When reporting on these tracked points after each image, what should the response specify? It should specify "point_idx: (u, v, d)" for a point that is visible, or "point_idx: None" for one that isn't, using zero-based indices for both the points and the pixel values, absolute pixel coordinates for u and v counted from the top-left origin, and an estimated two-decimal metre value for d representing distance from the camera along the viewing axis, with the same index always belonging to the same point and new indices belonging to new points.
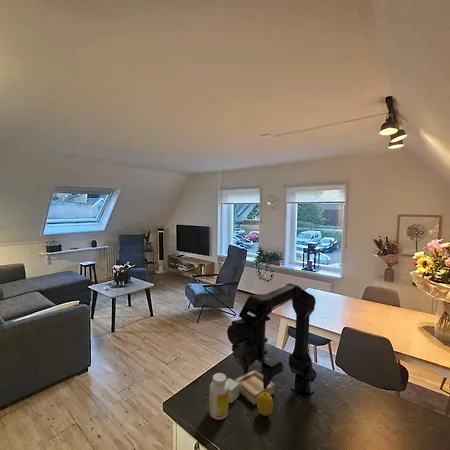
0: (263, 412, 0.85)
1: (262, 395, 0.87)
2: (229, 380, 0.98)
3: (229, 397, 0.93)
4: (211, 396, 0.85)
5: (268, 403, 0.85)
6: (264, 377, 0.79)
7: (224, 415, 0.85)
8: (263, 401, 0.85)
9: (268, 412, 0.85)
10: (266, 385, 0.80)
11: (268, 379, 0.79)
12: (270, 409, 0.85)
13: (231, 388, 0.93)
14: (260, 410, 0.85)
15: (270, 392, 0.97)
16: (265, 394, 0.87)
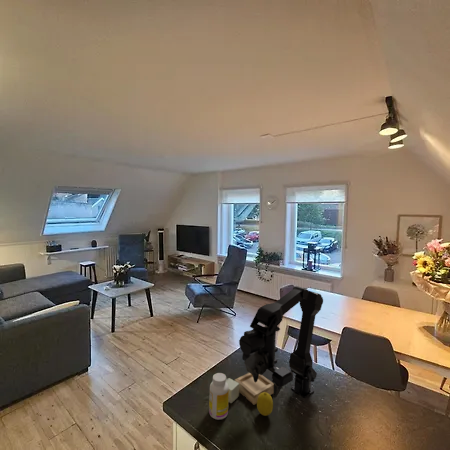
0: (263, 412, 0.85)
1: (262, 395, 0.87)
2: (229, 380, 0.98)
3: (229, 397, 0.93)
4: (211, 396, 0.85)
5: (268, 403, 0.85)
6: (274, 386, 0.82)
7: (224, 415, 0.85)
8: (263, 401, 0.85)
9: (268, 412, 0.85)
10: (276, 394, 0.83)
11: (278, 388, 0.82)
12: (270, 409, 0.85)
13: (231, 388, 0.93)
14: (260, 410, 0.85)
15: (270, 392, 0.97)
16: (265, 394, 0.87)
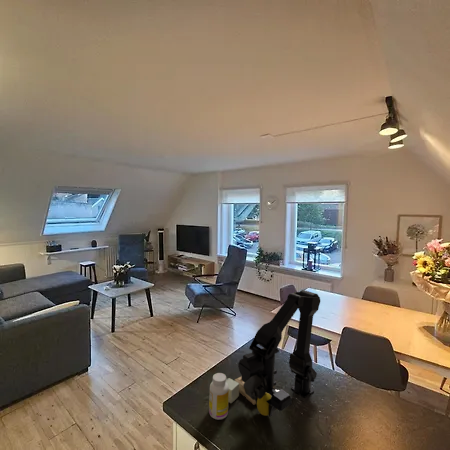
0: (263, 412, 0.85)
1: None
2: (229, 380, 0.98)
3: (229, 397, 0.93)
4: (211, 396, 0.85)
5: None
6: (269, 406, 0.83)
7: (224, 415, 0.85)
8: (263, 401, 0.85)
9: (268, 412, 0.85)
10: (271, 413, 0.84)
11: (273, 408, 0.84)
12: None
13: (231, 388, 0.93)
14: (260, 410, 0.85)
15: None
16: (265, 394, 0.87)
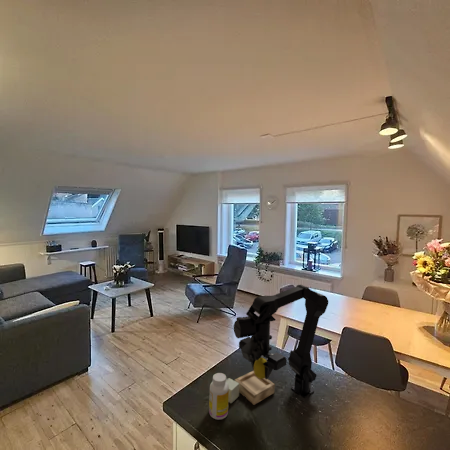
0: (260, 375, 0.90)
1: (259, 360, 0.92)
2: (229, 380, 0.98)
3: (229, 397, 0.93)
4: (211, 396, 0.85)
5: None
6: (266, 368, 0.89)
7: (224, 415, 0.85)
8: (260, 364, 0.90)
9: (264, 375, 0.90)
10: (267, 375, 0.90)
11: (269, 370, 0.89)
12: None
13: (231, 388, 0.93)
14: (257, 373, 0.91)
15: (270, 392, 0.97)
16: (261, 359, 0.92)
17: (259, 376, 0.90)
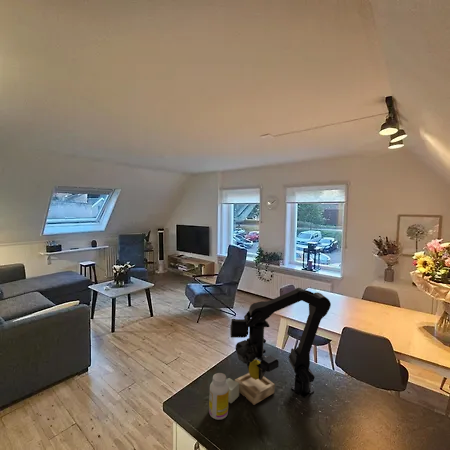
0: (254, 376, 0.97)
1: (253, 362, 0.99)
2: (229, 380, 0.98)
3: (229, 397, 0.93)
4: (211, 396, 0.85)
5: None
6: (259, 370, 0.95)
7: (224, 415, 0.85)
8: (254, 366, 0.97)
9: (258, 376, 0.97)
10: (261, 376, 0.96)
11: (263, 371, 0.96)
12: None
13: (231, 388, 0.93)
14: (251, 374, 0.98)
15: (270, 392, 0.97)
16: (256, 361, 0.99)
17: (253, 377, 0.97)
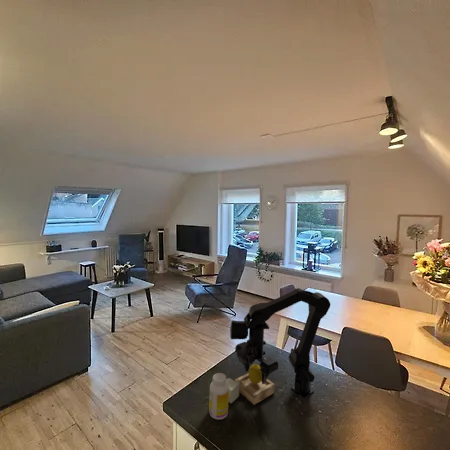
0: (254, 380, 0.97)
1: (253, 366, 0.99)
2: (229, 380, 0.98)
3: (229, 397, 0.93)
4: (211, 396, 0.85)
5: (258, 372, 0.97)
6: (262, 374, 0.94)
7: (224, 415, 0.85)
8: (254, 371, 0.98)
9: (258, 380, 0.97)
10: (264, 381, 0.95)
11: (266, 376, 0.95)
12: (260, 378, 0.97)
13: (231, 388, 0.93)
14: (251, 379, 0.98)
15: (270, 392, 0.97)
16: (255, 365, 0.99)
17: (253, 381, 0.97)
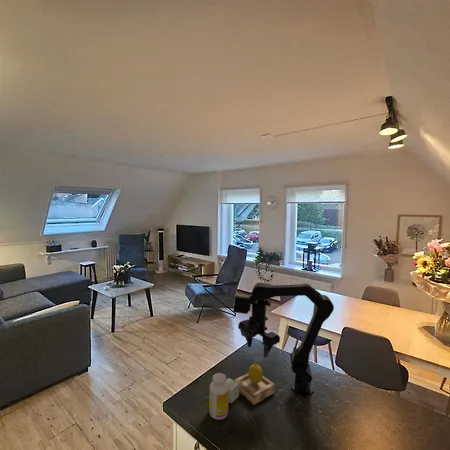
0: (253, 380, 0.97)
1: (253, 366, 0.99)
2: (229, 380, 0.98)
3: (229, 397, 0.93)
4: (211, 396, 0.85)
5: (258, 372, 0.97)
6: (265, 347, 0.98)
7: (224, 415, 0.85)
8: (254, 371, 0.98)
9: (258, 380, 0.97)
10: (266, 354, 1.00)
11: (268, 349, 0.99)
12: (260, 378, 0.97)
13: (231, 388, 0.93)
14: (251, 379, 0.98)
15: (270, 392, 0.97)
16: (255, 365, 0.99)
17: (253, 381, 0.97)
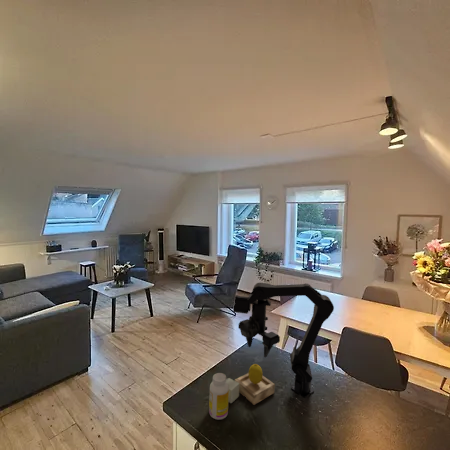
0: (253, 380, 0.97)
1: (253, 366, 0.99)
2: (229, 380, 0.98)
3: (229, 397, 0.93)
4: (211, 396, 0.85)
5: (258, 372, 0.97)
6: (265, 347, 0.99)
7: (224, 415, 0.85)
8: (254, 371, 0.98)
9: (258, 380, 0.97)
10: (266, 354, 1.00)
11: (268, 349, 0.99)
12: (260, 378, 0.97)
13: (231, 388, 0.93)
14: (251, 379, 0.98)
15: (270, 392, 0.97)
16: (255, 365, 0.99)
17: (253, 381, 0.97)
